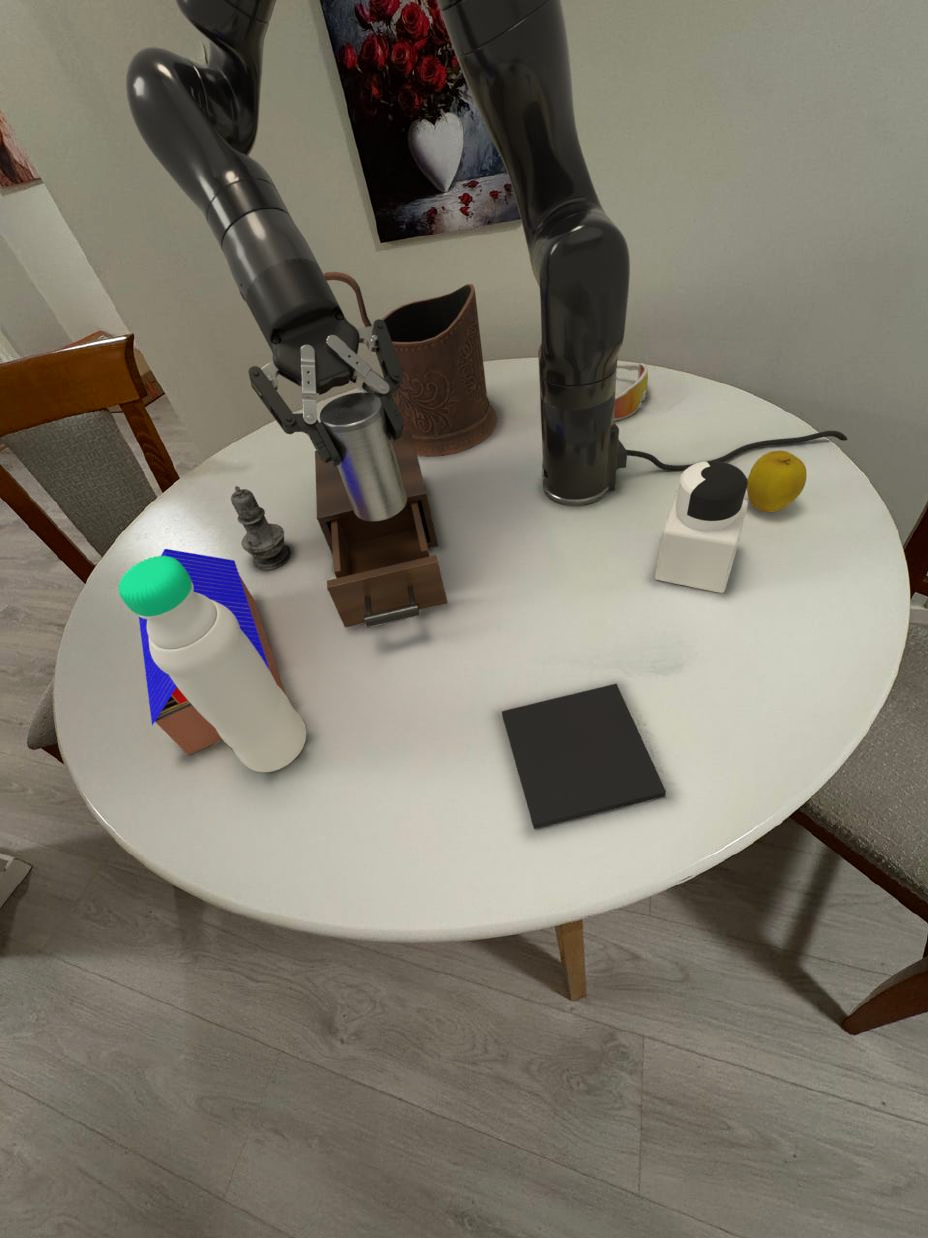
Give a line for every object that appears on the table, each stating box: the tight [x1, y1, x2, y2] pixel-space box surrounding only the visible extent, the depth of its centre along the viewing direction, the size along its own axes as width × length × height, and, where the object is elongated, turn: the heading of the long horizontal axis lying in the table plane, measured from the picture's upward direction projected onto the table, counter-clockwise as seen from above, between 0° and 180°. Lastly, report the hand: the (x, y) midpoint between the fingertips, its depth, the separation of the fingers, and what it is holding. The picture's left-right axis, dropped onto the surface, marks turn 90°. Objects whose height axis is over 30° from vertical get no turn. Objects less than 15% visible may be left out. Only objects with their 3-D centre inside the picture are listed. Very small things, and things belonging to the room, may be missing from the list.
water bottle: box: [118, 555, 307, 773], centre depth 52 cm, size 7×7×25 cm
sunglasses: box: [614, 362, 649, 421], centre depth 96 cm, size 14×15×5 cm
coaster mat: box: [501, 683, 667, 830], centre depth 55 cm, size 12×12×1 cm
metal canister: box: [319, 391, 407, 521], centre depth 58 cm, size 6×6×11 cm
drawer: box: [326, 501, 449, 628], centre depth 70 cm, size 19×13×7 cm
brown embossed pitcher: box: [323, 271, 499, 457], centre depth 90 cm, size 18×24×25 cm
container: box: [654, 460, 749, 594], centre depth 65 cm, size 8×8×13 cm
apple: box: [746, 450, 808, 513], centre depth 71 cm, size 6×6×8 cm
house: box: [138, 548, 287, 756], centre depth 64 cm, size 12×20×12 cm, turn 26°
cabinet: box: [314, 429, 439, 557], centre depth 80 cm, size 16×14×9 cm
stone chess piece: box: [230, 485, 292, 571], centre depth 77 cm, size 6×6×12 cm
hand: (368, 449), depth 55 cm, fingers closed on metal canister, 6 cm apart
